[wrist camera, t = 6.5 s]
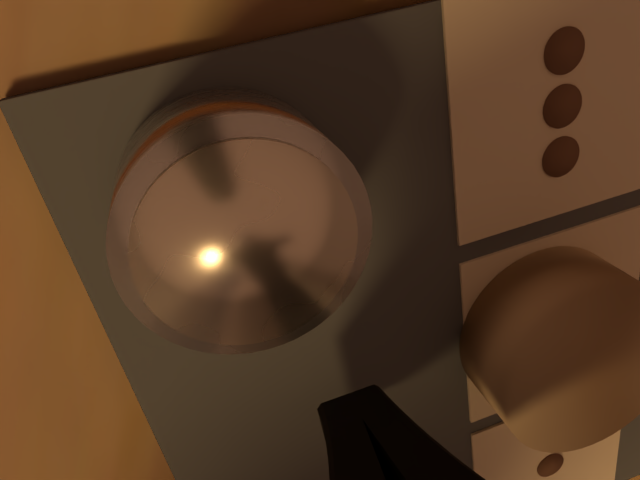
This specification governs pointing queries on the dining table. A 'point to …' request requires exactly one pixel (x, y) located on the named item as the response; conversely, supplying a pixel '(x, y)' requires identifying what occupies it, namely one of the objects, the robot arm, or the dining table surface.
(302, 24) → the dining table surface
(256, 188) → the tealight tin
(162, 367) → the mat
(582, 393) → the beech disc
